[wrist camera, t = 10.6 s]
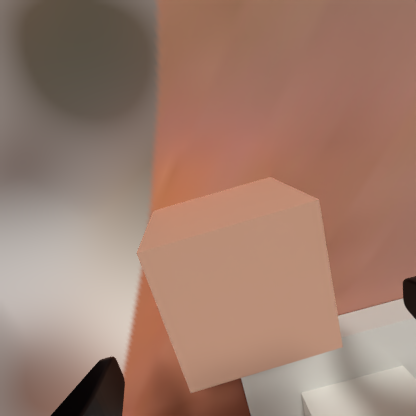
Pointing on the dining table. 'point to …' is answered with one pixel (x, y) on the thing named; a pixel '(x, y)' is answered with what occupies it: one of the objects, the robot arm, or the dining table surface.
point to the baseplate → (338, 360)
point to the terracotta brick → (242, 281)
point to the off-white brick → (365, 396)
